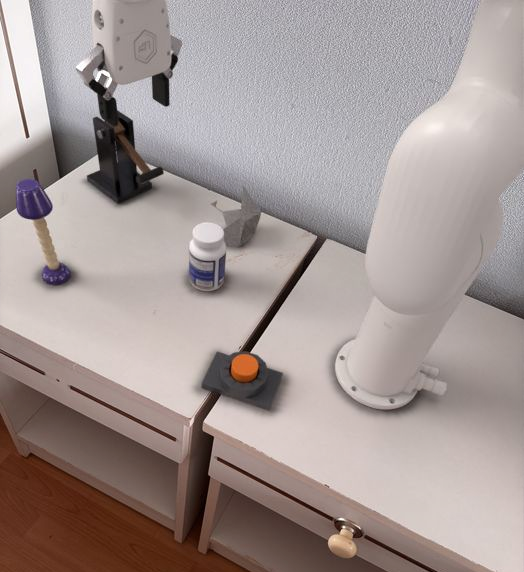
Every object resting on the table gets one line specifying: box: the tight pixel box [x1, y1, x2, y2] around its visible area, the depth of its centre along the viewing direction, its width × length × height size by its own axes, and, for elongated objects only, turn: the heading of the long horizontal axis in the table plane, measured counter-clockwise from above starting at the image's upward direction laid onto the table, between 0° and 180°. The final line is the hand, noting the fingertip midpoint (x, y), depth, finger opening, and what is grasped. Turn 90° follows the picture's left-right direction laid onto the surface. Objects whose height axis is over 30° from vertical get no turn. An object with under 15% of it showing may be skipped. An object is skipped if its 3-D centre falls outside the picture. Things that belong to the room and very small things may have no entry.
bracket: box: [86, 109, 153, 205], centre depth 92 cm, size 9×8×13 cm
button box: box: [200, 350, 284, 412], centre depth 71 cm, size 10×6×3 cm, turn 73°
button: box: [231, 354, 258, 383], centre depth 70 cm, size 4×4×2 cm
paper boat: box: [210, 185, 262, 248], centre depth 90 cm, size 12×6×9 cm
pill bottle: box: [188, 221, 227, 292], centre depth 80 cm, size 6×6×10 cm
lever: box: [104, 120, 165, 185], centre depth 88 cm, size 12×5×2 cm, turn 48°
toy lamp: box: [15, 178, 71, 286], centre depth 74 cm, size 5×5×17 cm
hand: (136, 112), depth 77 cm, fingers open, 9 cm apart
